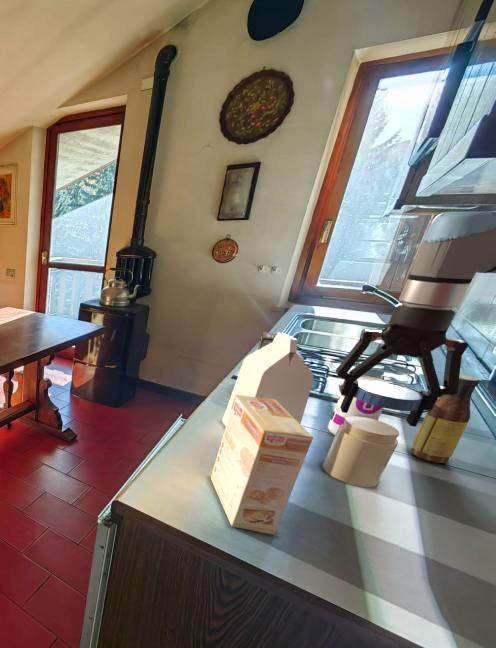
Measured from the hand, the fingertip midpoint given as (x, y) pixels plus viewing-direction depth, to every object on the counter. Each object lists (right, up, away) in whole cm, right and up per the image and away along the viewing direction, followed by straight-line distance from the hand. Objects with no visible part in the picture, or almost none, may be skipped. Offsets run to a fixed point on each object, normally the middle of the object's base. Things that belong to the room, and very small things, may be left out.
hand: (376, 416), depth 78 cm
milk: (-10, -7, +21) cm, 24 cm away
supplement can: (+14, -7, +21) cm, 27 cm away
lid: (0, +5, -2) cm, 6 cm away
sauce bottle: (+24, -11, +12) cm, 29 cm away
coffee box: (+15, +7, +54) cm, 57 cm away
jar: (0, -13, +5) cm, 14 cm away
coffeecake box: (-30, -17, -4) cm, 35 cm away
